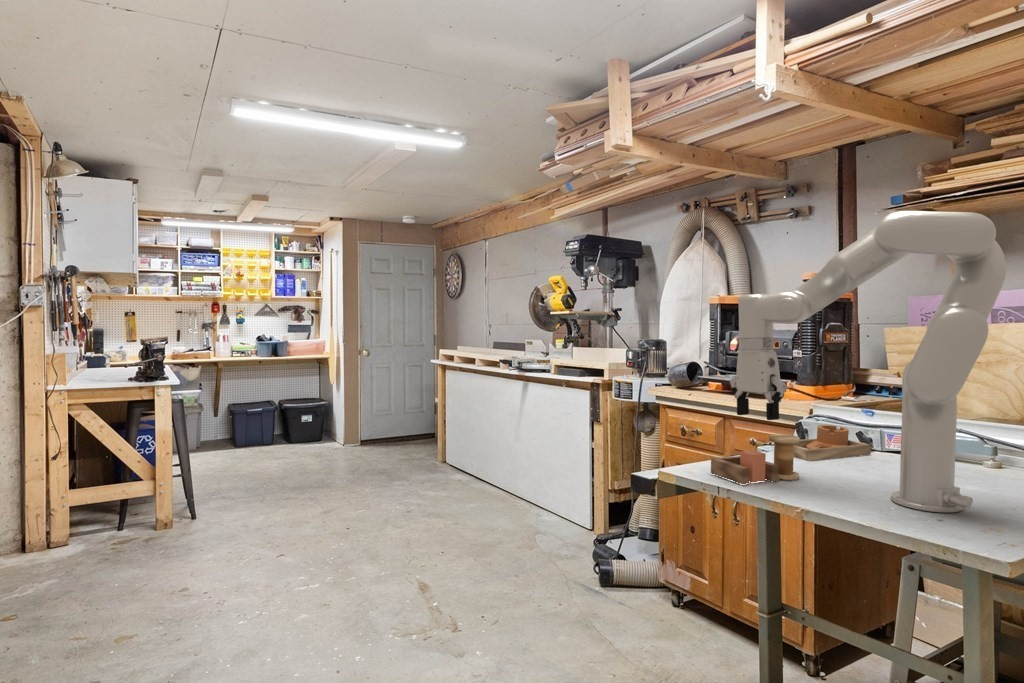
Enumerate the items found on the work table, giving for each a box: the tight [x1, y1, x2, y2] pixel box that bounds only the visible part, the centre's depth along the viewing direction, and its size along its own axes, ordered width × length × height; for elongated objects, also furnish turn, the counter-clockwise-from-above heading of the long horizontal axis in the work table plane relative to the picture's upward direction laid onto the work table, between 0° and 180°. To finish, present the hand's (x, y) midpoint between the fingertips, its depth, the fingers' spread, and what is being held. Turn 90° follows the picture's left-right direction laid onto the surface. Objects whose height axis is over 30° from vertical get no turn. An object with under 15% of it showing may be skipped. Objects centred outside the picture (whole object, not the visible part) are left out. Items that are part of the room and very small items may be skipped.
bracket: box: [806, 424, 850, 449], centre depth 180 cm, size 18×8×7 cm, turn 138°
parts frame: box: [793, 438, 872, 462], centre depth 179 cm, size 12×23×3 cm, turn 111°
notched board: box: [710, 455, 780, 484], centre depth 150 cm, size 11×11×4 cm
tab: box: [739, 449, 767, 482], centre depth 147 cm, size 4×4×7 cm
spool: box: [768, 433, 801, 481], centre depth 151 cm, size 7×7×10 cm
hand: (757, 417), depth 146 cm, fingers open, 9 cm apart
